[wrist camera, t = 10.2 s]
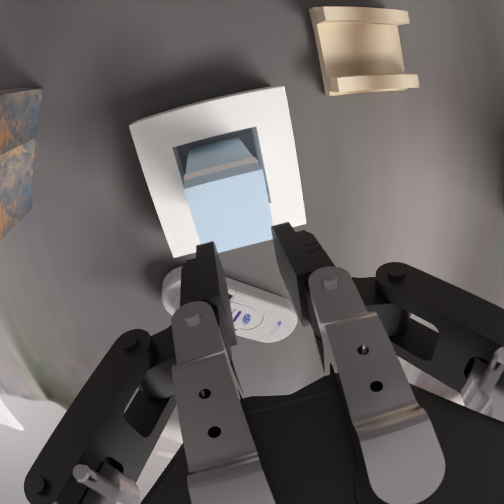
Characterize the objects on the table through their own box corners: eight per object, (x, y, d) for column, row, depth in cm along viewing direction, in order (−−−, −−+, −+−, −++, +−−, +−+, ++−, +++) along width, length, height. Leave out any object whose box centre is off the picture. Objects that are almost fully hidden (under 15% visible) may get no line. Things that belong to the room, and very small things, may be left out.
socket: (271, 85, 23) (284, 86, 19) (292, 205, 29) (306, 223, 25) (138, 119, 22) (128, 125, 19) (176, 235, 28) (173, 257, 25)
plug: (238, 136, 24) (263, 168, 15) (248, 183, 26) (276, 238, 17) (187, 148, 24) (182, 188, 15) (200, 195, 26) (204, 257, 17)
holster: (388, 11, 20) (406, 7, 17) (400, 89, 24) (419, 91, 22) (308, 9, 20) (321, 2, 17) (325, 95, 24) (339, 97, 21)
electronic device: (297, 397, 29) (150, 369, 23) (274, 331, 37) (155, 295, 31) (330, 364, 27) (173, 326, 21) (299, 299, 35) (174, 254, 29)
